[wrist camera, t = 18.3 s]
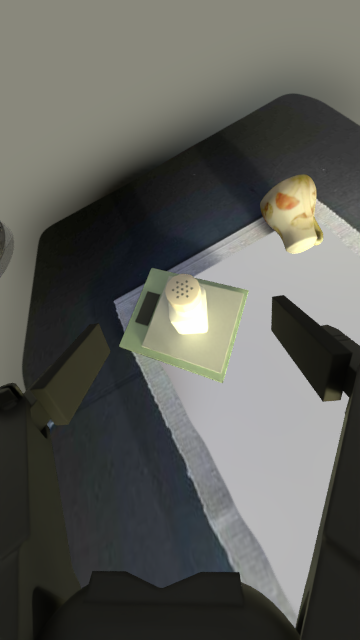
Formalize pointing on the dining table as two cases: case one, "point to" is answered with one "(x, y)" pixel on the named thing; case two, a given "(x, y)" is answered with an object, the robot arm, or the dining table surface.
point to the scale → (186, 349)
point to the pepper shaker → (187, 304)
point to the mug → (293, 213)
